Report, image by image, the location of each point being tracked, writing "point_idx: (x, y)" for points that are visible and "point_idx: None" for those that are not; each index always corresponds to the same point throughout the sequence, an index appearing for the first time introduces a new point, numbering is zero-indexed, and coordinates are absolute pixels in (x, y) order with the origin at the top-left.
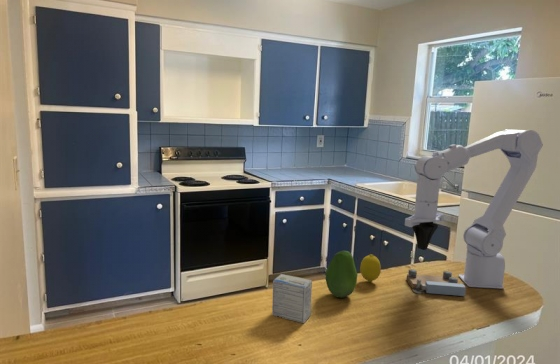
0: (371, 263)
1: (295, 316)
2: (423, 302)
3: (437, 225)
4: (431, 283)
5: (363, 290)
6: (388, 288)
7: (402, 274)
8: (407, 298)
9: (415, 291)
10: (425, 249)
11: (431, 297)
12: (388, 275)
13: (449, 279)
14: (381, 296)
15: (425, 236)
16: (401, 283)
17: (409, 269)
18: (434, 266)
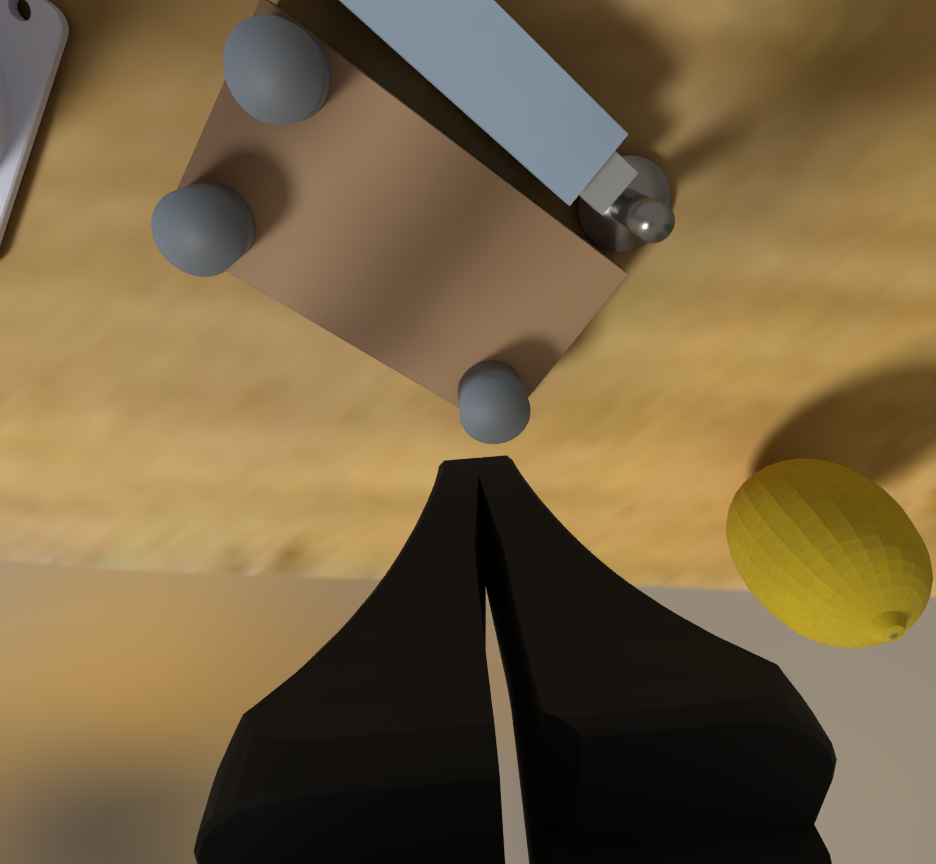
0: (922, 548)
1: None
2: (784, 11)
3: (274, 787)
4: (573, 130)
5: (920, 403)
6: (755, 354)
7: None
8: (813, 149)
9: (660, 202)
10: (473, 458)
11: (626, 52)
12: (552, 508)
13: (318, 93)
14: (927, 276)
15: (617, 578)
16: (593, 376)
17: (498, 442)
18: (68, 497)
